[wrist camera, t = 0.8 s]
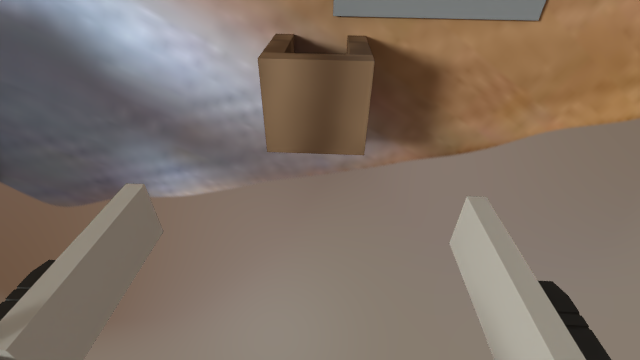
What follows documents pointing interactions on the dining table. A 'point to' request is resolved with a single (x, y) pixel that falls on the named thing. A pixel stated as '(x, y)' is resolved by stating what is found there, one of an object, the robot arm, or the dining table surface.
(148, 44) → the dining table surface
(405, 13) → the mat
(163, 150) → the dining table surface
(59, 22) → the dining table surface
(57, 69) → the dining table surface
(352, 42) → the notched open box
